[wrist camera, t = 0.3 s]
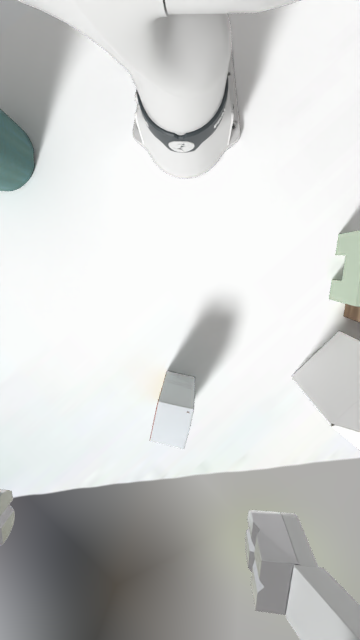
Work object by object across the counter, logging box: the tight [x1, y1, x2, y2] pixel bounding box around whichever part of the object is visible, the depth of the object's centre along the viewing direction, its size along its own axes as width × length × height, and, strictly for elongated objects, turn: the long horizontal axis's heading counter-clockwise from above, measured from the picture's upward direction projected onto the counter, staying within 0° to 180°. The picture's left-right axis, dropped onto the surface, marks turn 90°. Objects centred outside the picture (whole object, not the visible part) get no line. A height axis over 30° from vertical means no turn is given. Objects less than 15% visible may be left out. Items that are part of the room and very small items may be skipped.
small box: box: [150, 371, 195, 449], centre depth 53 cm, size 8×6×13 cm
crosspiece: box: [329, 230, 360, 307], centre depth 47 cm, size 12×2×9 cm, turn 179°
